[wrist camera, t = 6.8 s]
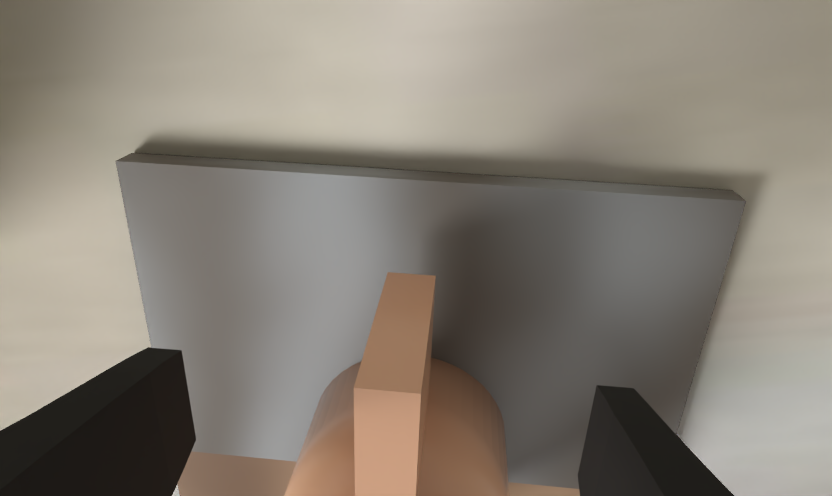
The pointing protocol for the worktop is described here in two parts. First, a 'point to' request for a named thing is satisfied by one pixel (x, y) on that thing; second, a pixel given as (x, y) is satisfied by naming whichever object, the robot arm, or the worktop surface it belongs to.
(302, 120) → the worktop surface
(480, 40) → the worktop surface
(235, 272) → the cradle
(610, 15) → the worktop surface
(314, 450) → the capsule with rectangular tab
